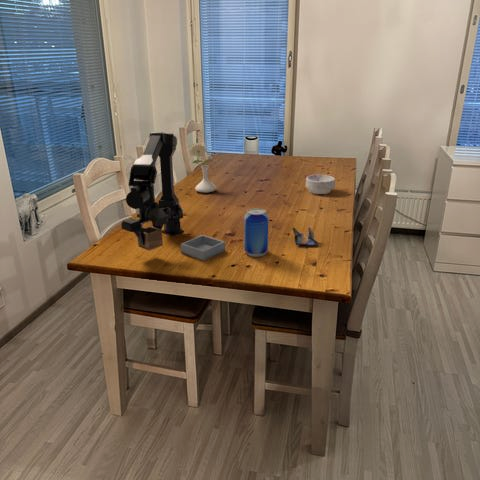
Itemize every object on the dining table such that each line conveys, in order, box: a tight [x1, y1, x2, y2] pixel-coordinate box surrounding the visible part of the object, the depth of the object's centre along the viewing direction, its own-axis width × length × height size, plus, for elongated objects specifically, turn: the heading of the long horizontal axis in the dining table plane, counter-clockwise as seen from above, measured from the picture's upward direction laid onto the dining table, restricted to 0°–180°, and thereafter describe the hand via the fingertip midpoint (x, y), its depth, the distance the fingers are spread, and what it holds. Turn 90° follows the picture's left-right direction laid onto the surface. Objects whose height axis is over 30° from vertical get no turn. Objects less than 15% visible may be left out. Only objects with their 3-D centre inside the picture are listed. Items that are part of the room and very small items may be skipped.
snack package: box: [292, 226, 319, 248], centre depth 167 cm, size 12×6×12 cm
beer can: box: [244, 207, 269, 258], centre depth 155 cm, size 8×8×16 cm
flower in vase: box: [190, 144, 217, 193], centre depth 229 cm, size 13×11×25 cm
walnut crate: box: [137, 225, 164, 252], centre depth 152 cm, size 6×6×6 cm
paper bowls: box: [305, 174, 336, 195], centre depth 229 cm, size 15×15×8 cm
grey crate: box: [180, 234, 226, 262], centre depth 159 cm, size 11×11×4 cm
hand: (150, 242), depth 153 cm, fingers closed on walnut crate, 6 cm apart
